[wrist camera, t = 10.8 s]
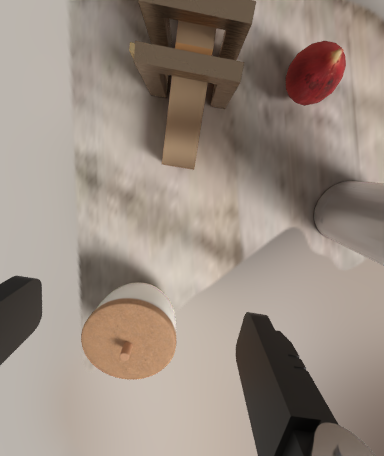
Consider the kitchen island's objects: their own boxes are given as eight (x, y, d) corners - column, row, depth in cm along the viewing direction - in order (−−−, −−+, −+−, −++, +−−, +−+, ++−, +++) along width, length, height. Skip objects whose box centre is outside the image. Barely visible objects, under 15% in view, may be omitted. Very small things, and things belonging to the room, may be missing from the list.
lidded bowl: (135, 342, 39) (114, 407, 28) (92, 292, 36) (50, 344, 25) (192, 311, 37) (194, 369, 26) (152, 256, 34) (135, 295, 23)
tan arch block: (234, 56, 26) (256, 1, 18) (224, 108, 28) (240, 82, 19) (141, 37, 26) (116, -29, 17) (137, 92, 28) (112, 57, 19)
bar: (184, 12, 25) (183, -25, 20) (216, 19, 25) (223, -16, 21) (166, 165, 30) (161, 164, 25) (193, 169, 30) (194, 169, 25)
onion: (320, 106, 28) (368, 83, 20) (277, 116, 28) (310, 96, 21) (318, 56, 27) (370, 11, 19) (273, 67, 27) (307, 26, 19)
